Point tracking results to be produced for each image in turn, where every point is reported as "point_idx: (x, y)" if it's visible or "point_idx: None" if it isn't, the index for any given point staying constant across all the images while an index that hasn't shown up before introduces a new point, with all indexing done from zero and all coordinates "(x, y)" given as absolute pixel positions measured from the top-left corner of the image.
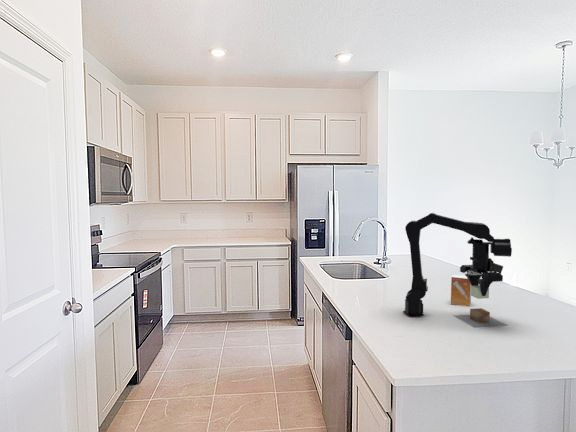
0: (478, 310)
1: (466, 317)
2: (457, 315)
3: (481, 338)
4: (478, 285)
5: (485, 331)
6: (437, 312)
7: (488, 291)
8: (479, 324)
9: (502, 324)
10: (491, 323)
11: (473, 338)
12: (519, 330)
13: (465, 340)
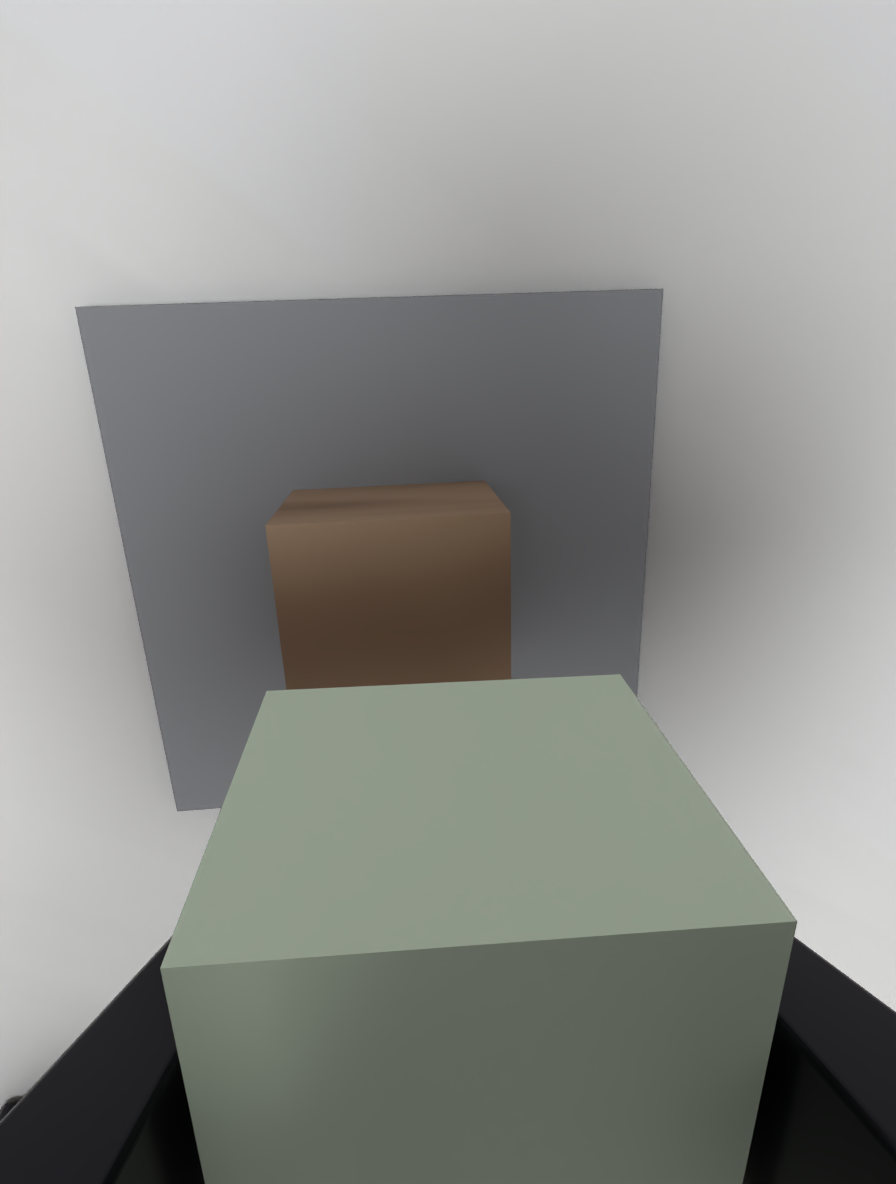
0: (391, 653)
1: (266, 688)
2: (178, 761)
3: (871, 830)
4: (207, 1116)
5: (726, 695)
6: (16, 913)
7: (708, 821)
8: (546, 666)
9: (605, 347)
10: (538, 486)
11: (846, 894)
12: (819, 223)
13: (860, 972)
